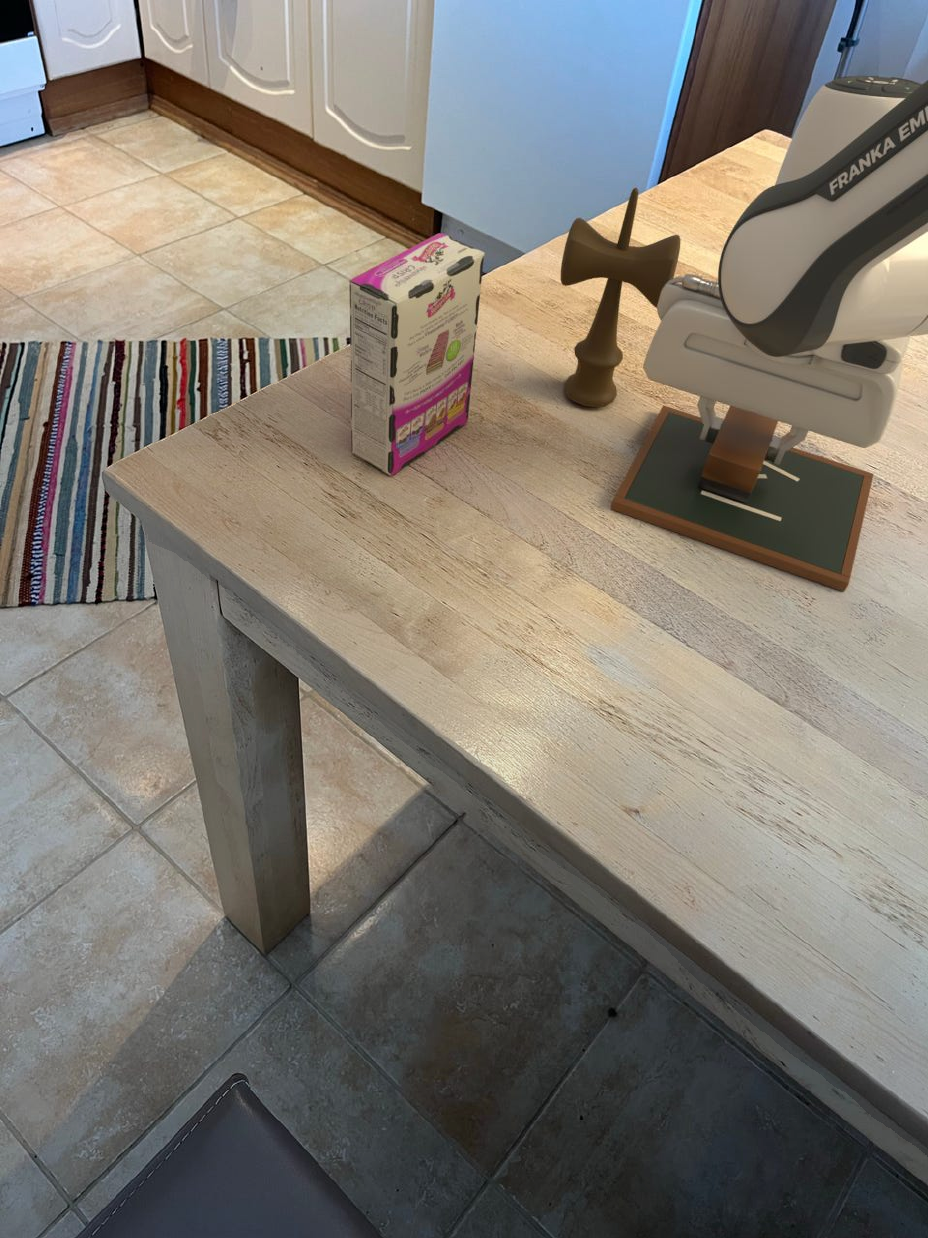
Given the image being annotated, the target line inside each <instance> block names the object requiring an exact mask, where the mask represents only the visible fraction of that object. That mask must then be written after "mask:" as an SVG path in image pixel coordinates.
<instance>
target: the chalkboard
mask: <svg viewBox="0 0 928 1238" xmlns="http://www.w3.org/2000/svg"><path fill="white" fill-rule="evenodd" d="M661 407H662V408H661V409H660V410H659V413H658V414H657V417H656V418H655V420H654V422H653V424H652V426H651V428H650V429H649V431H648V433H647V435H646V437H645V439H644V441H643V442H642V444H641V446H640V448H639V450H638V452H637V454H636V456H635V458H634V460H633V461H632V463H631V465H630V467H629V469H628V471H627V473H626V475H625V476H624V479H622V482H621V484H620V485H619V487H618V490H617V491H616V493H615V496H614V497H613V499H612V502H611V505H610V510H612V511H616V512H618V513H620V514H623V515H626V516H630V517H631V518H635V519H636V520H637V519H638V520H641V521H642V522H646V523H648V524H651V525H653V526H657V527H659V528H663V529H666V530H668V531H670V532H674V533H676V534H680V535H682V536H684V537H685V536H686V537H688V538H691V539H693V540H697V541H700V542H703V543H705V544H708V545H710V546H713V547H716V548H719V549H722V550H724V551H728V552H730V553H733V554H736V555H738V556H741V557H745V558H747V559H750V560H754V561H756V562H758V563H761V564H763V565H768V566H769V567H771V568H776V569H779V570H782V571H784V572H787V573H789V574H793V575H795V576H798V577H801V578H804V579H806V580H809V581H812V582H815V583H818V584H821V585H823V586H826V587H829V588H832V589H835V590H838V591H840V592H846V590H847V588H848V586H849V584H850V580H851V576H852V573H853V567H854V562H855V559H856V554H857V550H858V545H859V541H860V537H861V532H862V528H863V523H864V518H865V514H866V511H867V505H868V501H869V496H870V492H871V488H872V483H873V478H874V473H872V472H869V471H866V470H863V469H860V468H857V467H854V466H851V465H847V464H845V463H842V462H838V461H835V460H833V459H829V458H827V457H824V456H820V455H817V454H814V453H812V452H808V451H805V450H802V449H798V448H795V447H793V448H791V449H790V450H788V451H785V453H784V455H783V458H782V460H781V462H780V464H779V465H776V464H774V463H771V462H768V461H765V460H764V462H763V465H762V467H761V470H760V473H759V475H758V478H757V480H756V482H755V485H754V487H753V490H752V492H751V495H750V497H749V499H748V502H747V504H746V503H743V502H740V501H737V500H734V499H731V498H728V497H725V496H722V495H719V494H716V493H713V492H710V491H707V490H704V489H702V488H699V487H698V483H699V481H700V478H701V475H702V472H703V469H704V467H705V464H706V461H707V458H708V455H709V453H710V450H711V448H712V446H713V444H712V443H709V442H706V441H703V440H700V436H701V433H702V430H703V427H704V424H703V423H702V419H701V416H698V415H695V414H691V413H688V412H686V411H682V410H679V409H677V408H673V407H670V406H666V405H662V406H661Z"/></svg>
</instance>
